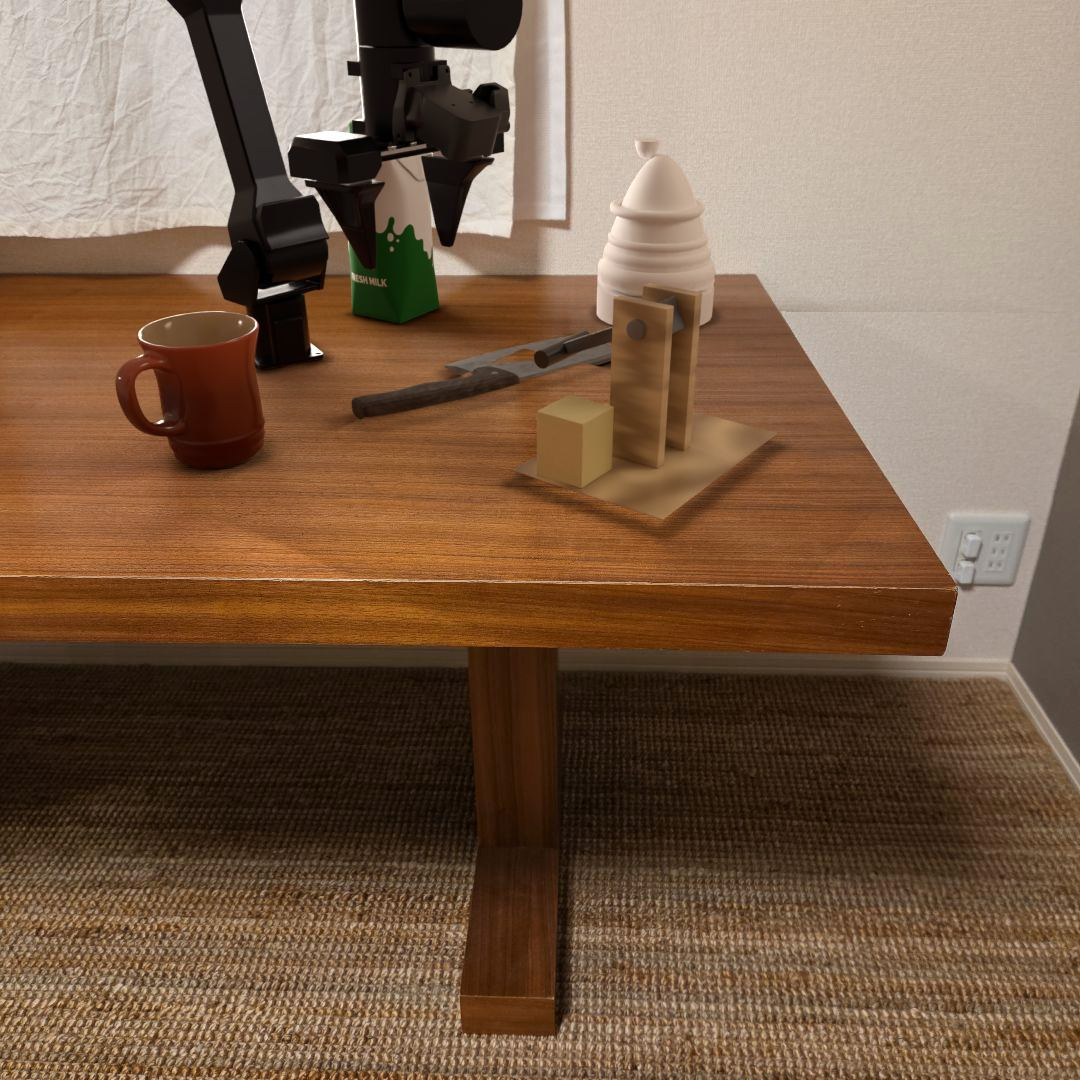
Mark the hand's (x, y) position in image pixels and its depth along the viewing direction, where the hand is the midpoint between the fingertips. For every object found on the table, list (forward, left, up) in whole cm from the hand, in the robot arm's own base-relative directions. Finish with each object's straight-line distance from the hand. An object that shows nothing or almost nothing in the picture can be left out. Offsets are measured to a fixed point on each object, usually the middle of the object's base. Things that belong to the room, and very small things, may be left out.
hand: (409, 257), depth 82 cm
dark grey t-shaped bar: (+17, +9, -4) cm, 20 cm away
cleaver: (-2, +8, -13) cm, 16 cm away
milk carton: (-27, +10, -13) cm, 32 cm away
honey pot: (-11, +34, -13) cm, 38 cm away
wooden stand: (+20, +10, -13) cm, 26 cm away
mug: (+2, -19, -13) cm, 23 cm away
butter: (+20, +3, -12) cm, 24 cm away
